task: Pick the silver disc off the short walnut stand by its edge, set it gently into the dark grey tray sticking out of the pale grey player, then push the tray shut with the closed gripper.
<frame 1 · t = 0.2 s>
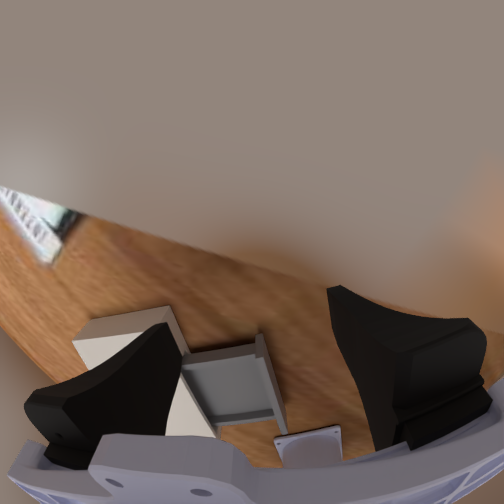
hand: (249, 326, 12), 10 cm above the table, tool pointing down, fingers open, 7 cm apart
player: (164, 386, 26), on the table
tray: (228, 396, 23), point 2 cm above the table, slide at 6.0 cm
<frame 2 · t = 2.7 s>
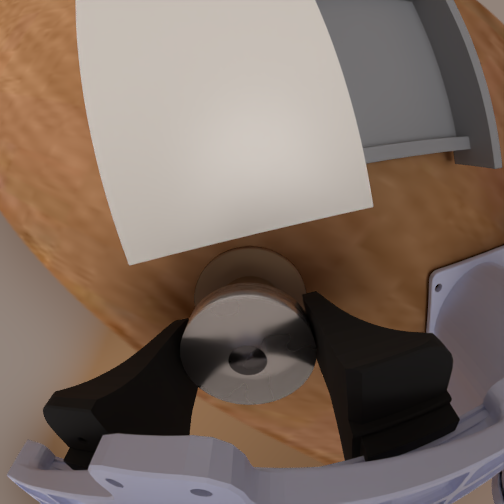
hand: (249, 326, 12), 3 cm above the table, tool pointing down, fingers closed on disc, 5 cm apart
disc: (248, 338, 11), point 3 cm above the table, touching gripper, stand
player: (217, 95, 11), on the table
tray: (383, 55, 9), point 2 cm above the table, slide at 6.0 cm
stand: (250, 299, 15), on the table
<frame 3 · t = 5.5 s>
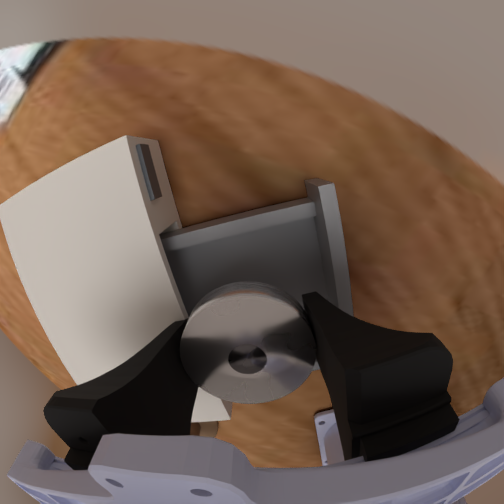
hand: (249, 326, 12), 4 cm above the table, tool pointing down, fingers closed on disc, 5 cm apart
disc: (248, 337, 11), point 5 cm above the table, touching gripper
player: (138, 313, 16), on the table
tray: (251, 313, 13), point 2 cm above the table, slide at 6.0 cm
stand: (183, 420, 19), on the table
when the fingers open (3 cm above the table, at t = 6.9 s): disc drops 3 cm, resting on tray.
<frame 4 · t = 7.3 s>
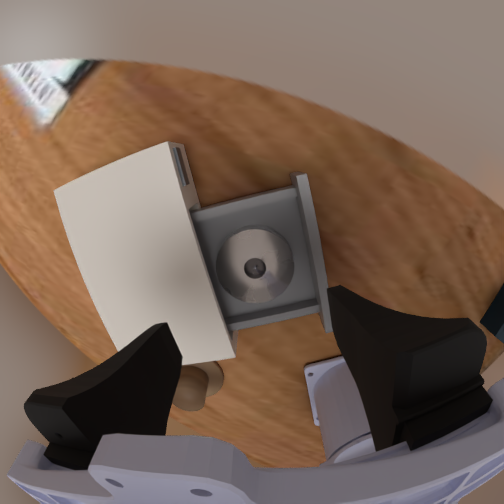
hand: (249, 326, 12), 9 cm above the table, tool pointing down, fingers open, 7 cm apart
disc: (255, 260, 20), point 1 cm above the table, touching tray
player: (163, 276, 22), on the table
watch: (499, 306, 23), on the table
tray: (252, 268, 19), point 2 cm above the table, slide at 6.0 cm, touching disc
stand: (193, 374, 25), on the table
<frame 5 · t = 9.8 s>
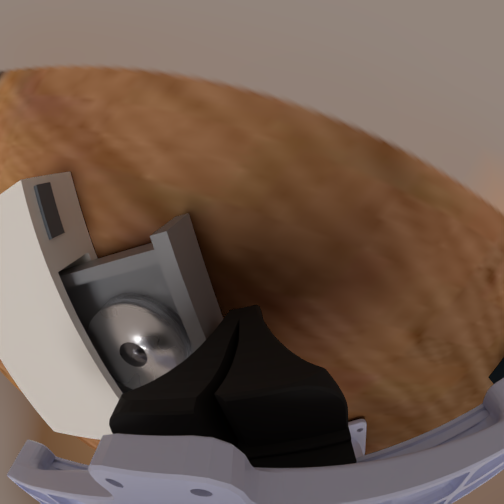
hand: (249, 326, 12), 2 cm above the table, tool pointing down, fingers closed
disc: (142, 338, 13), point 1 cm above the table, touching tray
player: (73, 335, 15), on the table
tray: (132, 352, 12), point 2 cm above the table, slide at 4.8 cm, touching disc, gripper
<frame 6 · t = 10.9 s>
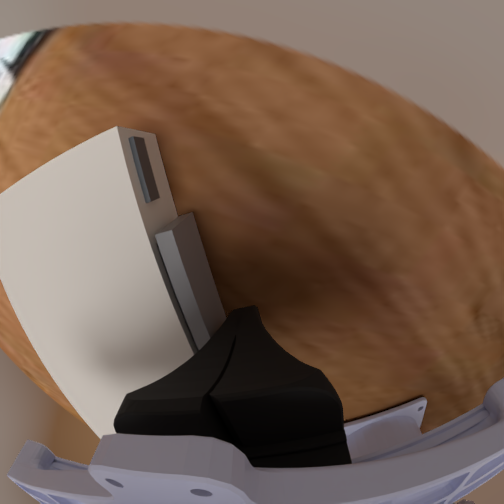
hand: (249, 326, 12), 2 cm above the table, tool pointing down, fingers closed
player: (134, 327, 14), on the table
tray: (135, 351, 12), point 2 cm above the table, slide at -0.1 cm, touching disc, gripper
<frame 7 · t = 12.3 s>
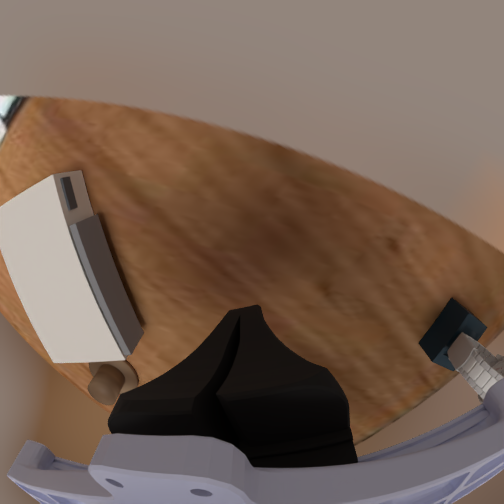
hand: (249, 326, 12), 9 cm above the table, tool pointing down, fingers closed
player: (76, 284, 22), on the table
watch: (446, 326, 23), on the table
tray: (71, 294, 20), point 2 cm above the table, slide at 0.0 cm, touching disc
stand: (113, 372, 25), on the table
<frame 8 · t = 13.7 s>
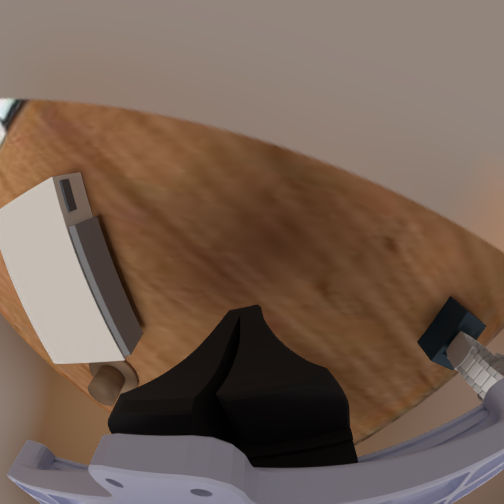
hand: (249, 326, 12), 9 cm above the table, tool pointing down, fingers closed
player: (76, 285, 22), on the table
watch: (445, 325, 23), on the table
tray: (70, 295, 20), point 2 cm above the table, slide at 0.0 cm, touching disc
stand: (114, 372, 25), on the table
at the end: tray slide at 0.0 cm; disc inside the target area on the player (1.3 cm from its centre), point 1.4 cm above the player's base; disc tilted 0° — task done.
